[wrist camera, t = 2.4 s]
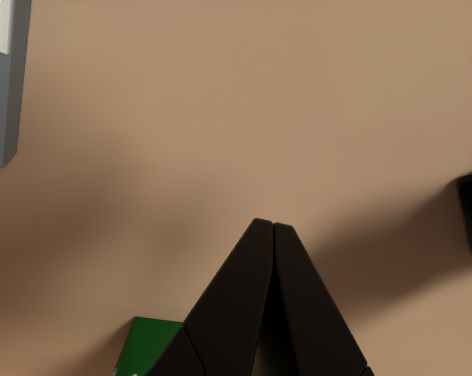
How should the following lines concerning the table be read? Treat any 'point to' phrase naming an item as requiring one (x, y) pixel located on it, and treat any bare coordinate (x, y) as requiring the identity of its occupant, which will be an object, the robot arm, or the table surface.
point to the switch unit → (12, 71)
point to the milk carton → (144, 345)
